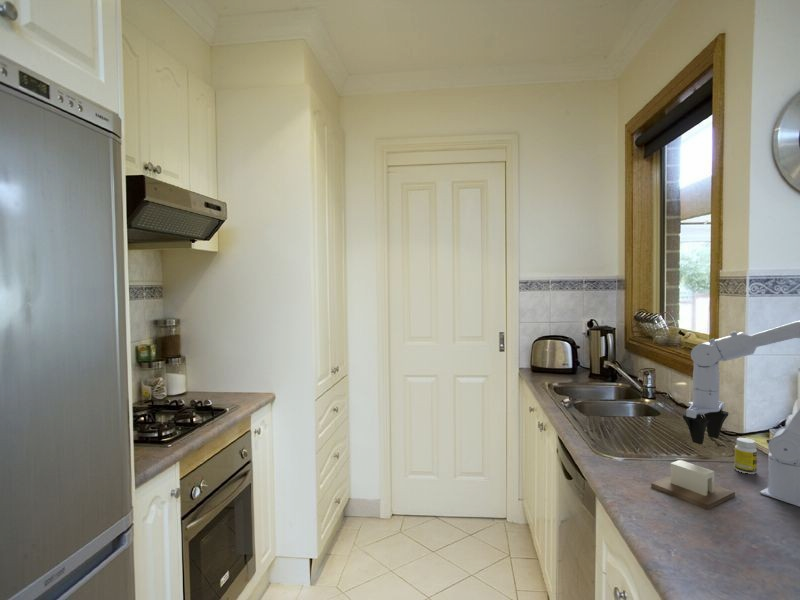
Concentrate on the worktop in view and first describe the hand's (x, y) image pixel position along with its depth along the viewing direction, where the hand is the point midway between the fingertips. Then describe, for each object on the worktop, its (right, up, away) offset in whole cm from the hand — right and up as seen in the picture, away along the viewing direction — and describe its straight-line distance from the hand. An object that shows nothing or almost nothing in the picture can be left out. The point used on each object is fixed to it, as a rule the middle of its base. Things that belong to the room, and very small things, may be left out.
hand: (705, 440), depth 118 cm
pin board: (-9, -10, -8) cm, 16 cm away
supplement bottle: (+13, -9, +3) cm, 16 cm away
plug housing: (-9, -9, -8) cm, 15 cm away
